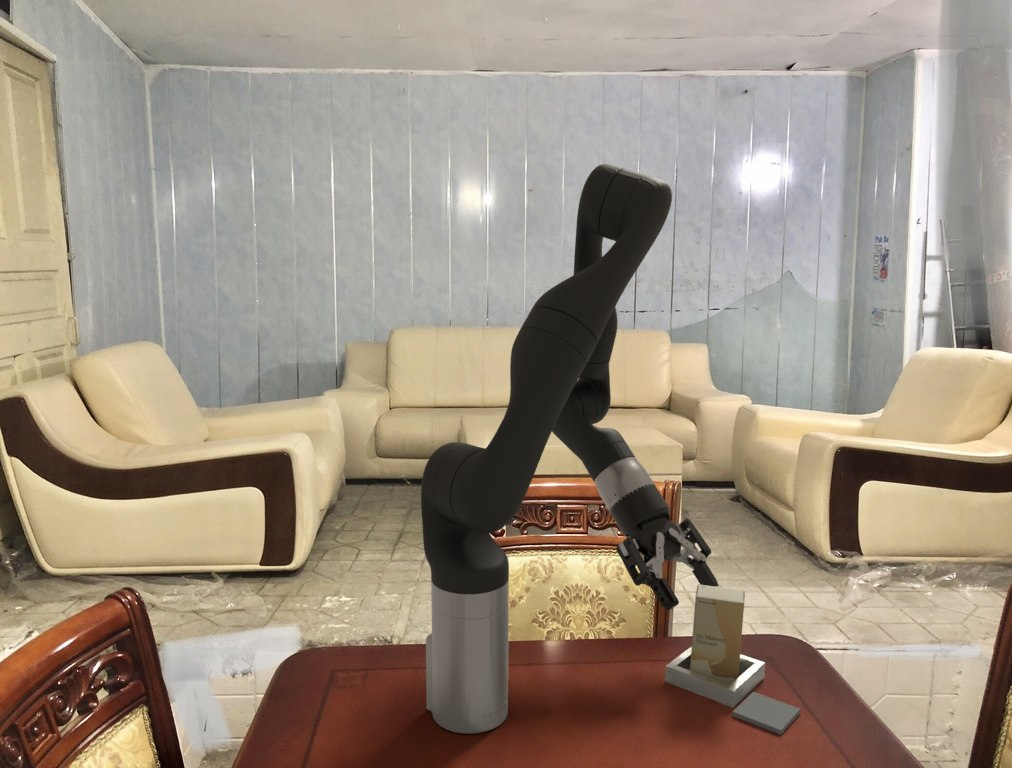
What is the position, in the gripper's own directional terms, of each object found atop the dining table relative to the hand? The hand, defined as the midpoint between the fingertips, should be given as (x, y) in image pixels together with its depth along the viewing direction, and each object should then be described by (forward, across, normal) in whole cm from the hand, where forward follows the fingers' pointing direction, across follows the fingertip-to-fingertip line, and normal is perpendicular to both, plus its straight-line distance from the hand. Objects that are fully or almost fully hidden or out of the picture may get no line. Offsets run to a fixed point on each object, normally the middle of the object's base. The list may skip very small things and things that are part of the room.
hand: (693, 598), depth 108 cm
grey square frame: (+10, 0, +4) cm, 11 cm away
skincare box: (+10, 0, +4) cm, 11 cm away
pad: (+16, -2, -2) cm, 17 cm away
